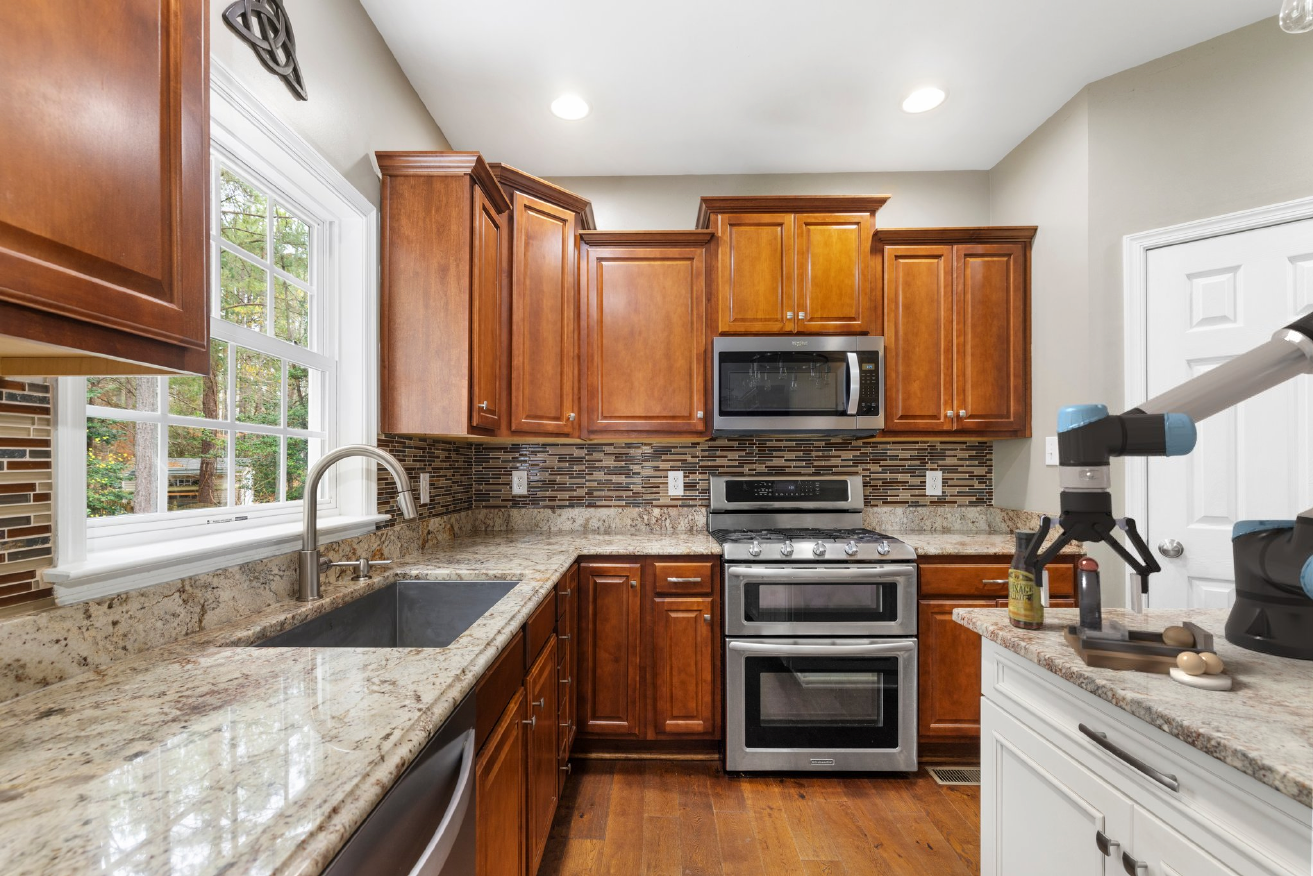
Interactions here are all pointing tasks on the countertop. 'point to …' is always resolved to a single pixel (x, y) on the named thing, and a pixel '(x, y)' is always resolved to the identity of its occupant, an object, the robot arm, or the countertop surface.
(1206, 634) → the tray
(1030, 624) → the sauce bottle
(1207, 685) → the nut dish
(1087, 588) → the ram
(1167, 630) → the walnut
